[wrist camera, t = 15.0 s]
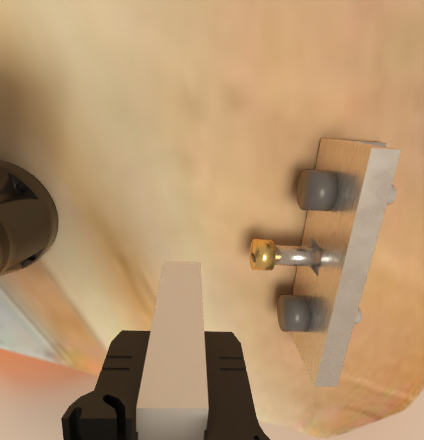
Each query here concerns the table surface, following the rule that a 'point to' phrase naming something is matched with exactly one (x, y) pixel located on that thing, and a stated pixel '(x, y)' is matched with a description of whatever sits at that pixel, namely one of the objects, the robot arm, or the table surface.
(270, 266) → the silver and brass cylinder
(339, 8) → the table surface
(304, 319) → the knob far
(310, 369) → the panel
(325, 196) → the knob near
